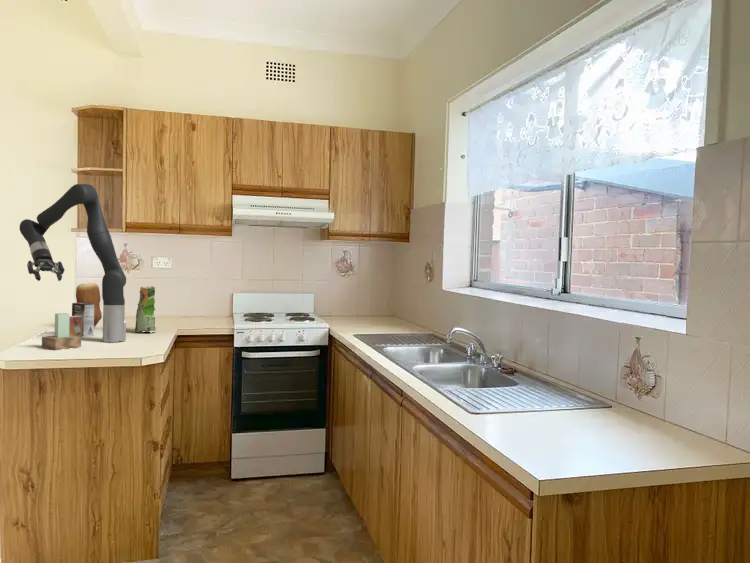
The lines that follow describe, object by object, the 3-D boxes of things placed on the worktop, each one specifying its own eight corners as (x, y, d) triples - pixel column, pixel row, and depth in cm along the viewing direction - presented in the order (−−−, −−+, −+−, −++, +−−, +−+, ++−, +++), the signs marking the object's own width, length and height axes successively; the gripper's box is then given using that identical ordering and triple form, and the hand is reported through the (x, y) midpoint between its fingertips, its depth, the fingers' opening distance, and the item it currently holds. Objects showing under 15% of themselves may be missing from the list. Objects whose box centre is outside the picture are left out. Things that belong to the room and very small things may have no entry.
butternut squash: (71, 327, 321) (72, 282, 320) (97, 326, 330) (98, 282, 329) (78, 330, 311) (79, 283, 310) (105, 329, 319) (106, 283, 319)
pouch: (153, 331, 318) (154, 285, 318) (159, 333, 309) (160, 286, 308) (131, 331, 312) (132, 285, 311) (137, 334, 302) (138, 286, 301)
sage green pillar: (65, 335, 256) (65, 313, 255) (69, 337, 253) (69, 314, 252) (54, 336, 253) (54, 313, 252) (57, 337, 249) (58, 314, 249)
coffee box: (70, 334, 293) (71, 302, 292) (81, 333, 299) (82, 302, 298) (83, 336, 289) (84, 303, 289) (94, 335, 295) (95, 303, 294)
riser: (67, 345, 260) (67, 334, 260) (80, 348, 254) (81, 337, 254) (41, 348, 251) (41, 336, 251) (55, 351, 245) (55, 339, 245)
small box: (62, 339, 278) (63, 316, 278) (62, 337, 283) (63, 315, 283) (81, 338, 282) (82, 316, 282) (81, 337, 287) (81, 315, 287)
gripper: (25, 247, 262) (34, 273, 255) (59, 248, 272) (69, 274, 265) (21, 258, 266) (30, 285, 258) (55, 259, 276) (64, 285, 269)
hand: (49, 279), depth 262 cm, fingers open, 8 cm apart
